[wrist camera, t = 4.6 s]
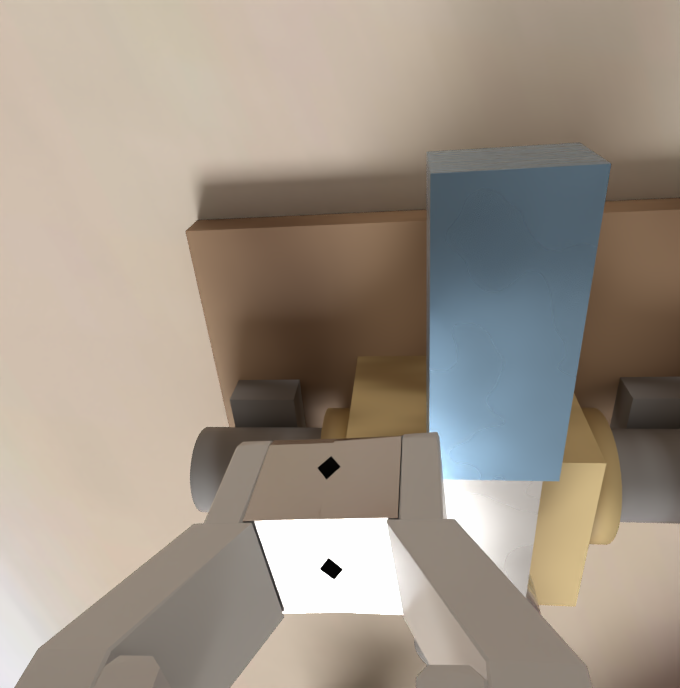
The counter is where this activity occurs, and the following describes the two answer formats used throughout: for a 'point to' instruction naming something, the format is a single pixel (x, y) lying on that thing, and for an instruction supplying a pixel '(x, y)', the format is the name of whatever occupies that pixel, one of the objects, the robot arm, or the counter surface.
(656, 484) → the valve
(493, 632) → the robot arm
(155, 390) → the counter surface
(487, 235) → the lever
